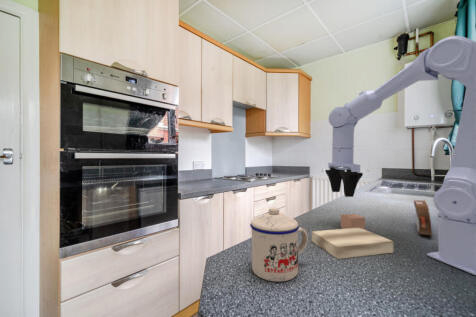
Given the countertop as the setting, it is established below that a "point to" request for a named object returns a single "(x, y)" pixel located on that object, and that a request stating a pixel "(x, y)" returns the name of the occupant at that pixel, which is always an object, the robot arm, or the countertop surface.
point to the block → (352, 221)
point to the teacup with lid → (276, 246)
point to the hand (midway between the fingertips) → (342, 194)
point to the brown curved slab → (423, 218)
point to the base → (351, 242)
